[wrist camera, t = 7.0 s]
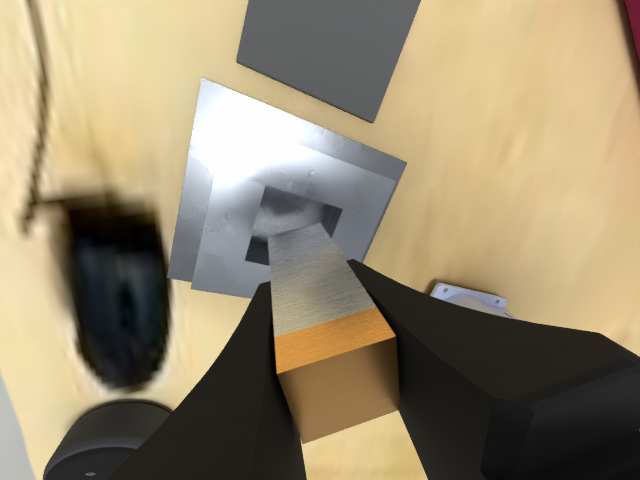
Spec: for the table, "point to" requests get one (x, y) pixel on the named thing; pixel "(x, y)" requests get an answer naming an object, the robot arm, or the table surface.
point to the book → (634, 22)
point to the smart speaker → (103, 441)
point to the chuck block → (269, 190)
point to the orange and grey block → (328, 337)
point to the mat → (329, 47)
